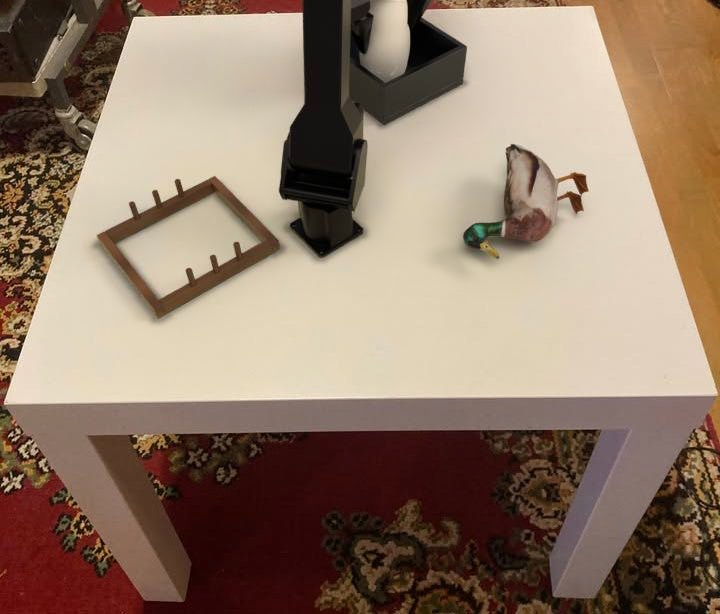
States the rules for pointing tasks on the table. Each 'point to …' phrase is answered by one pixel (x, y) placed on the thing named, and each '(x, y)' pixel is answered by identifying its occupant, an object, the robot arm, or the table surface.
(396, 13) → the figurine
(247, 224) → the drying rack
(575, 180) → the decorative duck model
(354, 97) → the dark grey open box
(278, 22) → the table surface
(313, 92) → the robot arm
